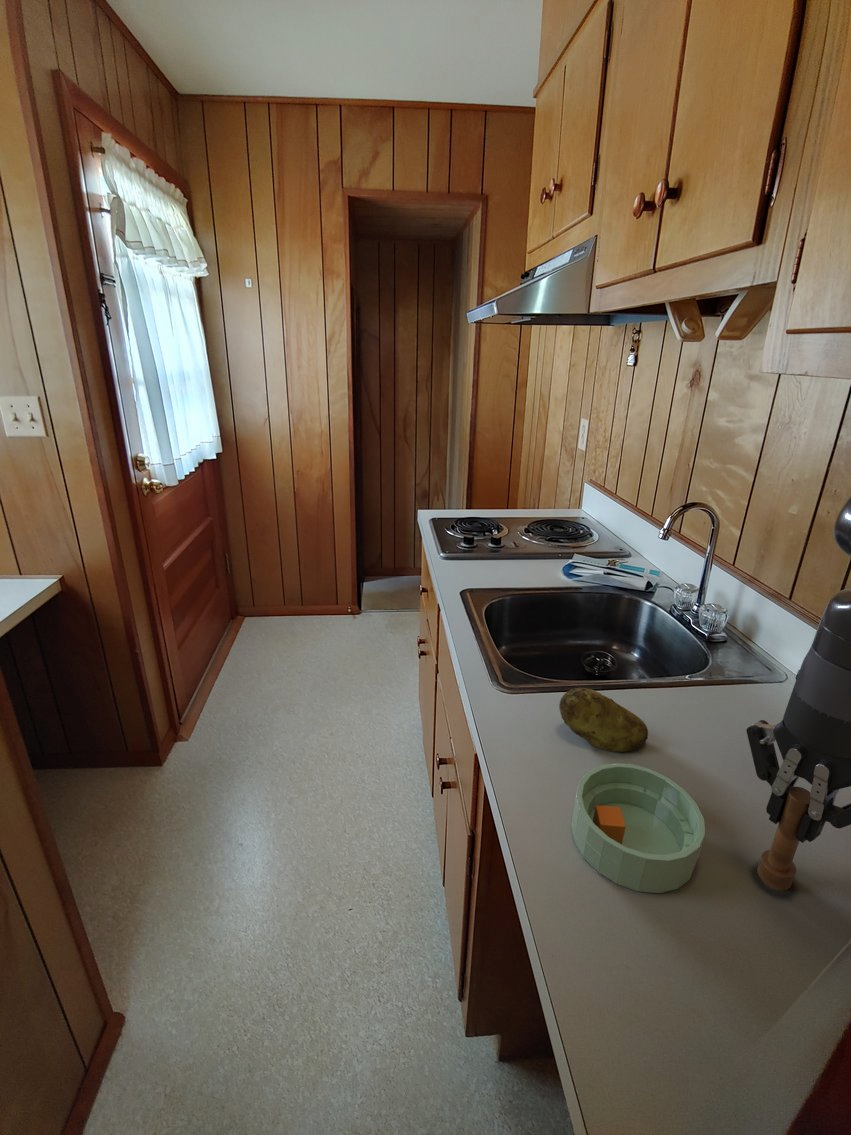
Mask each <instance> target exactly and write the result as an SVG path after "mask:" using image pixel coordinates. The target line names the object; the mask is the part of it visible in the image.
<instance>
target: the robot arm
mask: <svg viewBox="0 0 851 1135" xmlns="http://www.w3.org/2000/svg"><path fill="white" fill-rule="evenodd" d="M833 538H834V541H835V543H836V545H837V547H838V549H839V550H841V551H842V552H843V553H844V554H845V555H847V556H849V557H850V558H851V495H850V496H849V497H848V499H847V500H846V501H845V502H844V504H843V505H842V507H841V508H840V510H839V511H838V513H837V516H836V518H835V521H834V525H833ZM746 734H747V739H748V743H749V748H750V754H751V757H752V761H753V764H754V769H755V773H756V776H757V778H758V779H759V780H761V781H766V782H767V784H768V785H769V786H770V789H771V794H770V796H769V799H768V802H767V805H766V808H765V809H766V813H767V814H768V815H769V817H768V821H770V822H771V823H773V824H774V825H778V823H779V820H780V817H781V814H782V811H783V808H784V805H785V802H786V798H787V795H788V792H789V789H790V788H791V787H796V784H797V782H798V780H799V779H800V778H801V779H804V780H805V781H807V782H808V783H809V784H810V785H811V788H810V791H809V792H810V798H811V801H810V805H809V809H808V812H807V813H805V815H804V817H803V820H802V822H801V825H800V827H799V830H798V832H797V835H796V837H795V838H796V839H797V840H799V843H802V844H804V843H805V842H806V841H807V842H809V843H811V842H813V841H814V840H816V839H817V838H818V837H819V836H820V835H821V833H822V832H823V829H824V826H825V824H826V822H828V823H830V825H831V826H832V827H834V828H835V829H843V828H846V827H848V826H851V802H850V803H848V804H846V805H843V806H838V805H834V804H835V801H836V797H837V795H838V794H839V791H840V790H841V789H842V790H843V789H845V788H849V787H851V588H846V589H841V590H839V591H837V592H835V593H834V594H833V595H832V596H831V597H830V598H829V600H828V601H827V603H826V604H825V608H824V610H823V612H822V615H821V617H820V621H819V623H818V626H817V628H816V632H815V633H814V636H813V640H812V642H811V645H810V648H809V649H808V652H807V653H806V654H805V657H804V658H803V660H802V663H801V665H800V669H798V670H797V673H796V675H795V682H794V685H793V688H792V691H791V694H790V697H789V700H788V702H787V705H786V708H785V711H784V714H783V717H782V720H781V721H780V722H779V723H777V724H770V723H769V722H767V720H764V719H761V720H758V721H756V722H755V723H752V724H751V725H750V726H748V727H747V728H746ZM774 743H776V745H777V748H778V750H779V753H780V755H781V758H782V760H783V762H782V764H781V766H780V764H779V760H778V755H777V751H776V747H775V744H774Z"/></svg>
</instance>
